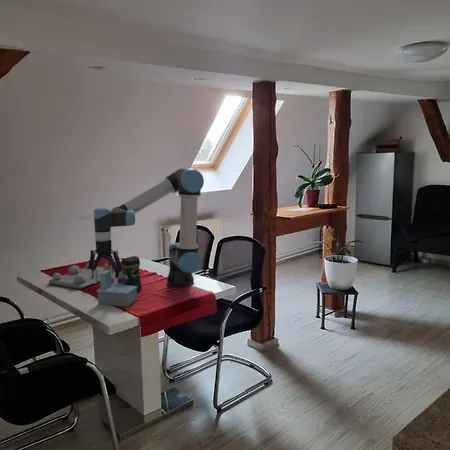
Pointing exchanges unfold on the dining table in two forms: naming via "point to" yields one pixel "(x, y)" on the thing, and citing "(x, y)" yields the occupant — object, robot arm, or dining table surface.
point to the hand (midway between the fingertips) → (106, 283)
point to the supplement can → (120, 278)
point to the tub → (117, 298)
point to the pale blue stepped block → (109, 288)
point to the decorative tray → (77, 277)
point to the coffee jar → (131, 271)
